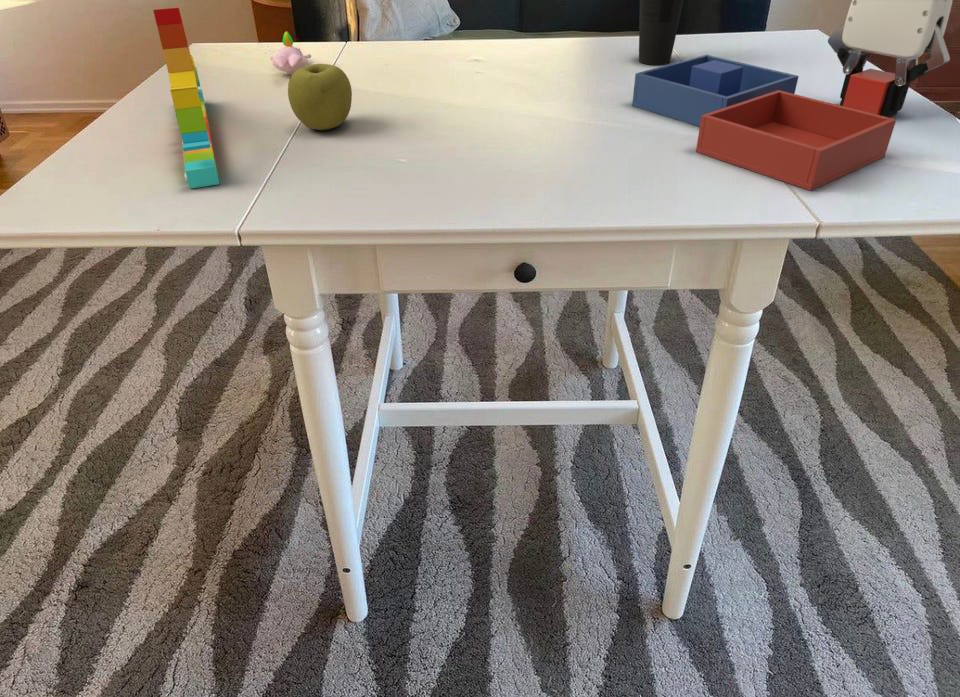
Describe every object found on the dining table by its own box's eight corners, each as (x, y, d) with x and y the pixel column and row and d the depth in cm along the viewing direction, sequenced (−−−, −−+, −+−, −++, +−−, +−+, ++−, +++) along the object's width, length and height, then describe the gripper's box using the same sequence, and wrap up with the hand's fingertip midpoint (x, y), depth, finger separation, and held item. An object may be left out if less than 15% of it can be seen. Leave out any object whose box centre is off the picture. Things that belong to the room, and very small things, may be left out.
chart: (180, 105, 98) (148, -16, 90) (204, 103, 99) (175, -18, 91) (187, 189, 75) (145, 35, 66) (219, 184, 76) (182, 32, 67)
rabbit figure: (275, 71, 117) (266, 80, 104) (268, 31, 114) (259, 35, 101) (314, 68, 118) (311, 77, 104) (308, 28, 115) (304, 32, 102)
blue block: (737, 103, 93) (744, 66, 90) (715, 110, 91) (721, 73, 88) (708, 95, 96) (714, 59, 93) (686, 102, 94) (691, 65, 91)
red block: (894, 112, 91) (905, 75, 88) (875, 120, 88) (886, 82, 86) (859, 104, 94) (870, 68, 91) (840, 111, 91) (850, 74, 89)
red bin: (884, 157, 79) (896, 119, 76) (810, 191, 72) (821, 151, 69) (771, 124, 88) (778, 89, 86) (695, 151, 81) (701, 115, 79)
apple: (288, 138, 87) (277, 77, 83) (301, 117, 93) (292, 59, 89) (350, 138, 87) (343, 76, 83) (360, 116, 93) (353, 58, 89)
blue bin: (791, 108, 93) (799, 75, 90) (721, 133, 86) (727, 98, 83) (701, 85, 102) (706, 54, 99) (631, 105, 95) (635, 73, 92)
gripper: (1013, -51, 77) (951, 121, 87) (861, -64, 88) (822, 90, 98) (981, -44, 73) (920, 135, 84) (827, -58, 84) (790, 101, 95)
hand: (868, 109), depth 91 cm, fingers closed on red block, 4 cm apart
